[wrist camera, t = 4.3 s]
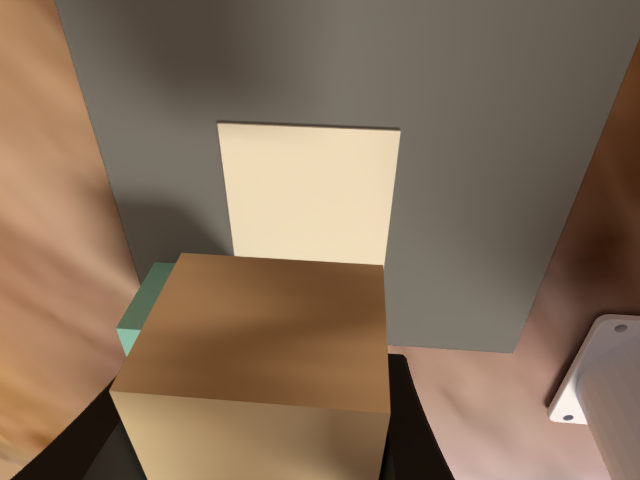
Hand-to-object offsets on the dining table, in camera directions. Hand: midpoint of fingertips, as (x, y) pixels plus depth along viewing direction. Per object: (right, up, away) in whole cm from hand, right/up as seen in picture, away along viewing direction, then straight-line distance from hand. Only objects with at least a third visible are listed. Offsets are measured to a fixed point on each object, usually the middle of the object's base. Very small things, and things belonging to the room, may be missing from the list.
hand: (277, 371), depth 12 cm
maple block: (0, +1, +1) cm, 1 cm away
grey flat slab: (+2, +6, +6) cm, 8 cm away
